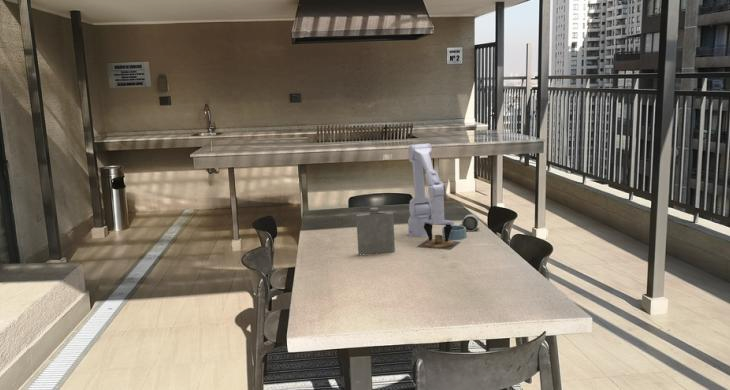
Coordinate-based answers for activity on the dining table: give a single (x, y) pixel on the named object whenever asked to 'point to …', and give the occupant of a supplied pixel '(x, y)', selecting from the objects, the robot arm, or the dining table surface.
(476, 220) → the ceramic mug
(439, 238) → the walnut cover
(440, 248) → the rubber mat
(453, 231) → the slate-blue bowl
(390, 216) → the hip flask
